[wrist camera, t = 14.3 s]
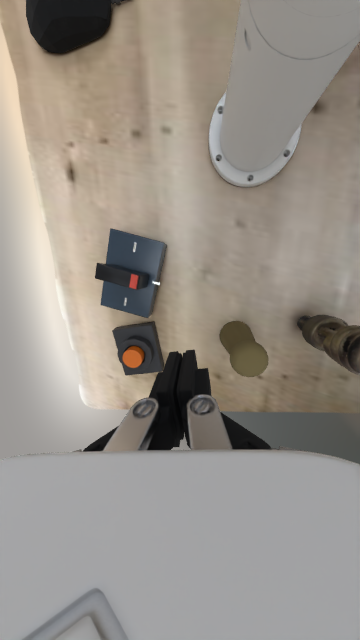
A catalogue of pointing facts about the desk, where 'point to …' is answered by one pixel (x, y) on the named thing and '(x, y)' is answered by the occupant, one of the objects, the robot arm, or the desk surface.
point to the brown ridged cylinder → (333, 339)
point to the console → (139, 258)
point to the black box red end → (121, 276)
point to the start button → (133, 356)
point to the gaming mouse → (67, 22)
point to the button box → (140, 346)
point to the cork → (243, 349)
